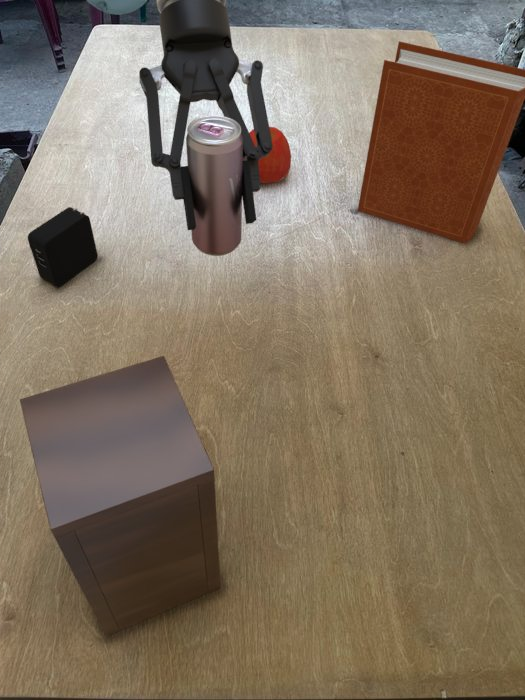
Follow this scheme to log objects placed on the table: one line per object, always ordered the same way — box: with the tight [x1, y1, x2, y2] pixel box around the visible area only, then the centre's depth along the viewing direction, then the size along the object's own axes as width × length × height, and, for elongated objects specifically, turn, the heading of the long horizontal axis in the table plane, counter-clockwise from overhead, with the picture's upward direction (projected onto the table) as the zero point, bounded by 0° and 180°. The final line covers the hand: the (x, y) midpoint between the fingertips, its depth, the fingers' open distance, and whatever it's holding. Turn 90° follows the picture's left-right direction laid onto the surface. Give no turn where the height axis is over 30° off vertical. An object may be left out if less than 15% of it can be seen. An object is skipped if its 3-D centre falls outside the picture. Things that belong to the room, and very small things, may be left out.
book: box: [357, 40, 525, 244], centre depth 113 cm, size 23×8×30 cm, turn 65°
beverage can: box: [185, 114, 243, 257], centre depth 70 cm, size 6×6×15 cm
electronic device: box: [27, 206, 99, 288], centre depth 107 cm, size 4×10×10 cm, turn 145°
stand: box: [19, 355, 221, 637], centre depth 66 cm, size 14×14×28 cm
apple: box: [243, 126, 292, 184], centre depth 128 cm, size 11×11×11 cm
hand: (221, 224), depth 70 cm, fingers closed on beverage can, 6 cm apart
